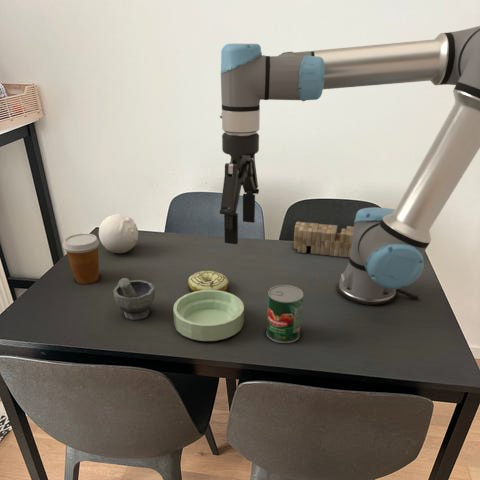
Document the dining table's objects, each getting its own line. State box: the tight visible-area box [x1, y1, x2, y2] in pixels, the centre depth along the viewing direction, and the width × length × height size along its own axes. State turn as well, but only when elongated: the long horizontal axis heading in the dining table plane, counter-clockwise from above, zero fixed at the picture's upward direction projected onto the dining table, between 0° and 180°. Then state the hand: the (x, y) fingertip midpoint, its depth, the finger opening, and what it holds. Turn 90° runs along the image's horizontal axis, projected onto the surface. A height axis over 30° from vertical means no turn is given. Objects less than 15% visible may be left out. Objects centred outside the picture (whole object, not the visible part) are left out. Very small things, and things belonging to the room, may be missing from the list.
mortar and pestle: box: [112, 277, 156, 321], centre depth 113 cm, size 11×9×12 cm
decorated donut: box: [188, 270, 230, 292], centre depth 127 cm, size 10×11×4 cm
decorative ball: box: [98, 213, 139, 254], centre depth 146 cm, size 12×12×12 cm
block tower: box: [293, 221, 354, 259], centre depth 148 cm, size 8×8×29 cm
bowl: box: [172, 290, 245, 342], centre depth 111 cm, size 17×17×5 cm
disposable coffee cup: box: [62, 232, 100, 285], centre depth 129 cm, size 10×10×12 cm
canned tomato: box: [265, 284, 304, 344], centre depth 107 cm, size 8×8×11 cm
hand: (240, 231), depth 105 cm, fingers open, 13 cm apart
